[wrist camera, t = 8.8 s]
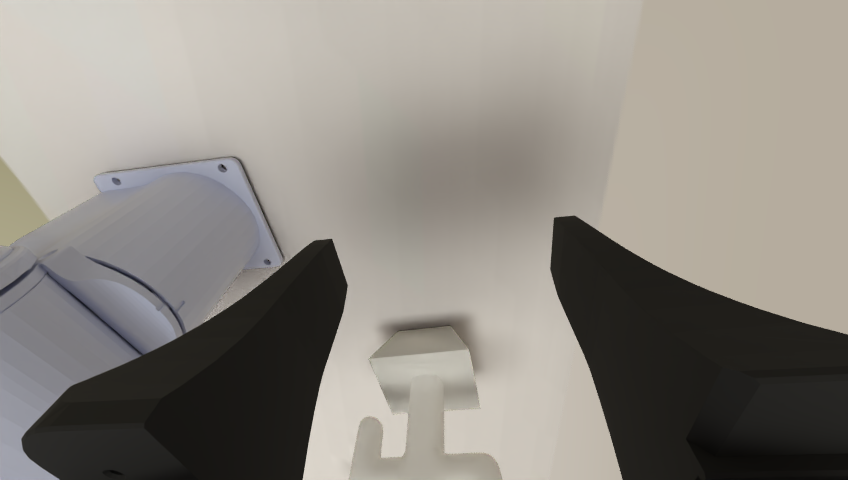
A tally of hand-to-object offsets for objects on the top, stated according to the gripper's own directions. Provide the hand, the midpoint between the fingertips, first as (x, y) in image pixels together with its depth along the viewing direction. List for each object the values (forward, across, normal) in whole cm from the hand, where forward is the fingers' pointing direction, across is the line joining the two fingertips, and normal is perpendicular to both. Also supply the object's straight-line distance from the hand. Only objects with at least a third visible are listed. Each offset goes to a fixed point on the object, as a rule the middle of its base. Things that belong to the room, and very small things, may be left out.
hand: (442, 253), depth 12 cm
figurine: (+11, +3, +17) cm, 20 cm away
